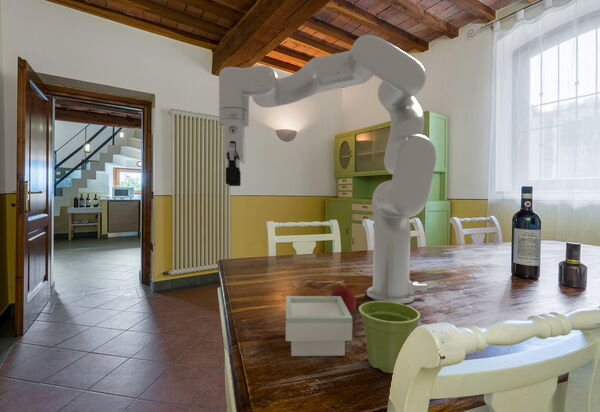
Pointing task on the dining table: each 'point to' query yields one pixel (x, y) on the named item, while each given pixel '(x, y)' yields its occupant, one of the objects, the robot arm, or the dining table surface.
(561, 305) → the dining table surface
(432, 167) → the robot arm
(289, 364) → the dining table surface
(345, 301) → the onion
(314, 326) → the pedestal
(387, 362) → the plant pot
